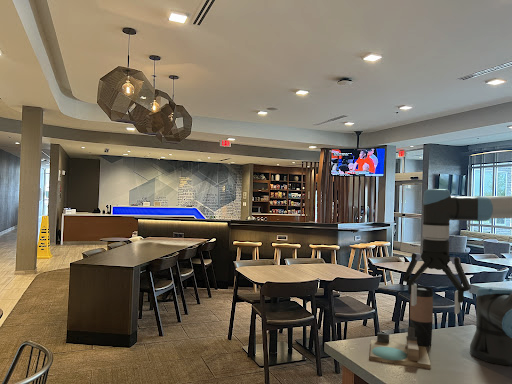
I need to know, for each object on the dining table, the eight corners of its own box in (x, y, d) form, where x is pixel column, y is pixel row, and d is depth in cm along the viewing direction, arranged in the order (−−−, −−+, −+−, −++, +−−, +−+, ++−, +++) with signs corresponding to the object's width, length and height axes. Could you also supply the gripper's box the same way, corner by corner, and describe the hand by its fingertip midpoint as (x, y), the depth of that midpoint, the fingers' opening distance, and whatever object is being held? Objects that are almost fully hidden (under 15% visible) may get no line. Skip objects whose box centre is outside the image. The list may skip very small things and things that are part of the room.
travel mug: (434, 348, 139) (435, 291, 140) (411, 345, 141) (412, 289, 141) (429, 340, 147) (430, 286, 147) (407, 338, 149) (408, 285, 149)
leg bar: (406, 348, 134) (406, 336, 134) (416, 349, 133) (416, 337, 133) (407, 359, 124) (408, 346, 124) (418, 361, 123) (419, 347, 123)
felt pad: (406, 350, 134) (406, 349, 134) (408, 362, 123) (408, 361, 123) (372, 345, 137) (372, 344, 137) (371, 357, 127) (371, 356, 127)
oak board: (425, 350, 137) (425, 326, 137) (430, 368, 122) (431, 341, 122) (371, 343, 143) (371, 320, 143) (369, 359, 127) (370, 334, 128)
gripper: (482, 241, 118) (481, 314, 117) (401, 235, 134) (400, 299, 133) (476, 243, 112) (475, 319, 112) (392, 236, 128) (391, 303, 127)
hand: (434, 308), depth 122 cm, fingers open, 12 cm apart
